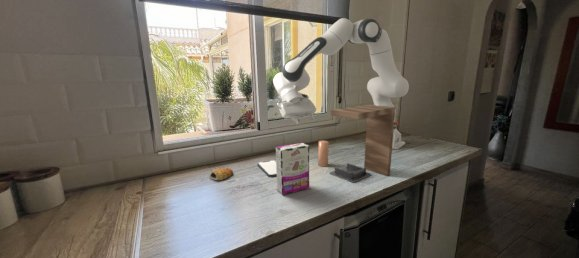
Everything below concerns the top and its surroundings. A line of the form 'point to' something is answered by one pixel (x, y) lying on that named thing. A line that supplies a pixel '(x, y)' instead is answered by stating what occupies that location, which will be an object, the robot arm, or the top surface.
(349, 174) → the tray
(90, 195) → the top surface
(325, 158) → the terracotta spice jar
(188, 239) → the top surface
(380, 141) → the walnut shelf
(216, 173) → the pastry
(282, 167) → the candy bar box
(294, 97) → the robot arm
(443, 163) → the top surface
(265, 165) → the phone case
